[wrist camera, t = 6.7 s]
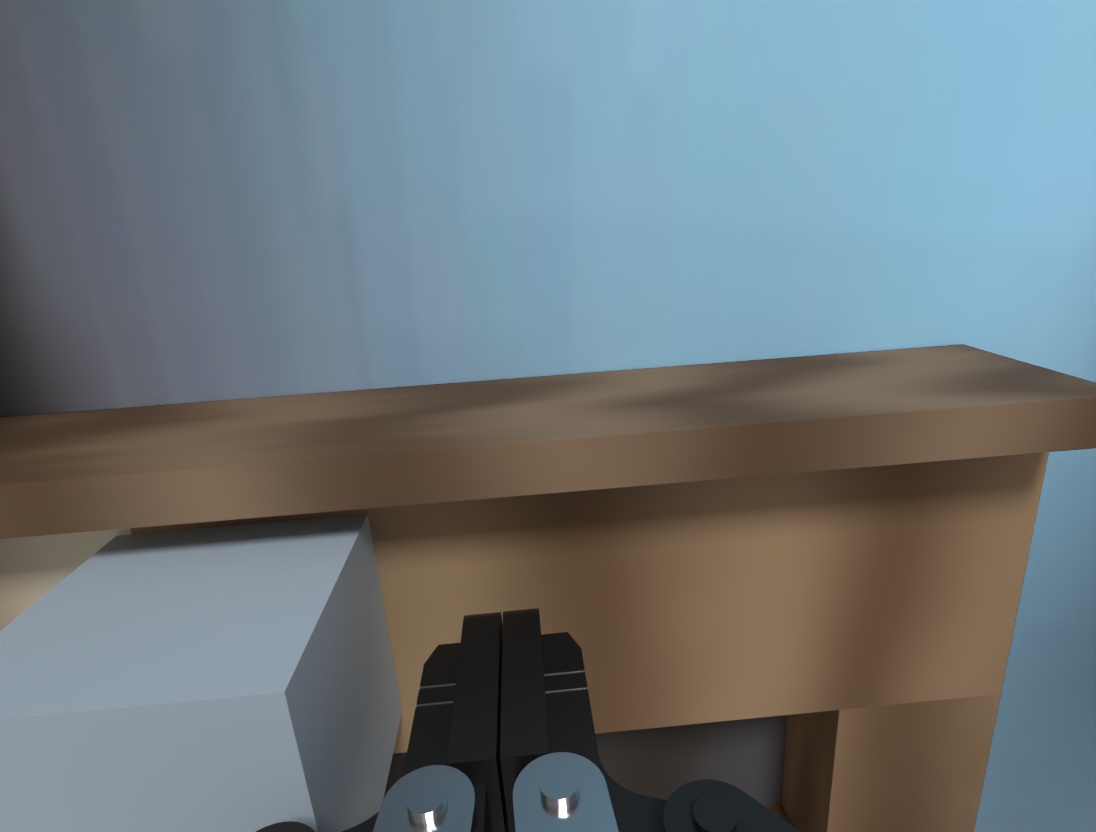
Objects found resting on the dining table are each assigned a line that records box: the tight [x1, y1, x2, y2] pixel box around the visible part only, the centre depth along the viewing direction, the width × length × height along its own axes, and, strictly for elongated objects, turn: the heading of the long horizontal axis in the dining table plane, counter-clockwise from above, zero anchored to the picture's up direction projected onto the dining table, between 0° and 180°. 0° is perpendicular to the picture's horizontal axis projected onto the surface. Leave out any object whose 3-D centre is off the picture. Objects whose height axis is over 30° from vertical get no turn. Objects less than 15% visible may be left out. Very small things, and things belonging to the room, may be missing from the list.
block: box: [0, 514, 402, 832], centre depth 11 cm, size 5×5×5 cm
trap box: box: [0, 344, 1096, 832], centre depth 15 cm, size 27×15×4 cm, turn 94°
